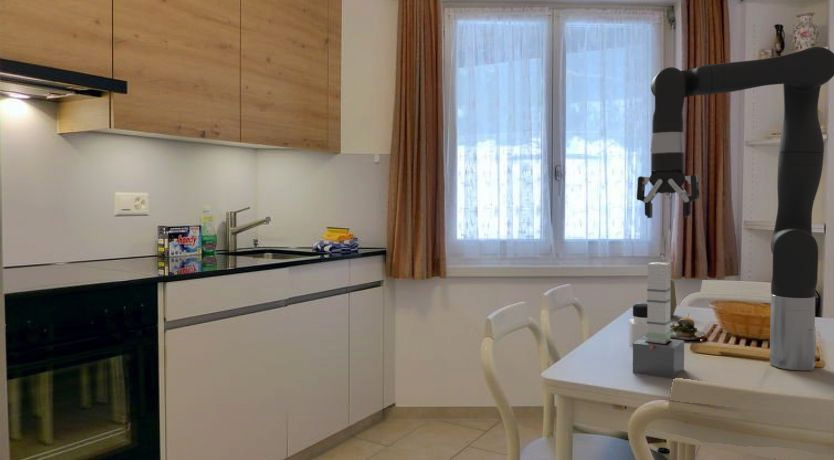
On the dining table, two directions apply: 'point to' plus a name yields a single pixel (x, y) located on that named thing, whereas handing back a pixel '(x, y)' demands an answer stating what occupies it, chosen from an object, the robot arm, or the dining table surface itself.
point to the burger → (686, 330)
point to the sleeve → (658, 358)
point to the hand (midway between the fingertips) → (667, 217)
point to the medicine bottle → (638, 323)
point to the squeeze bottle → (672, 299)
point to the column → (659, 302)
